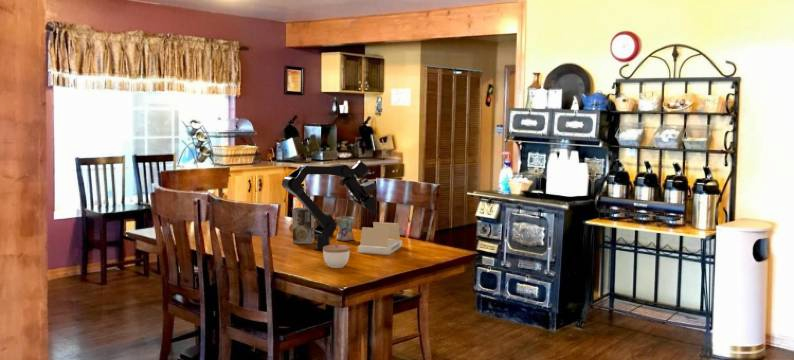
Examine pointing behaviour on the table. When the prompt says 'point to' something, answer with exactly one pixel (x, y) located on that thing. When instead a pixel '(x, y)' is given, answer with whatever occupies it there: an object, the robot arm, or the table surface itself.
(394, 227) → the far flap
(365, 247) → the carton
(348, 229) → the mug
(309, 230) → the coffee box
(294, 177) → the robot arm
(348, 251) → the lidded jar
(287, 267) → the table surface
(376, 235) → the near flap
